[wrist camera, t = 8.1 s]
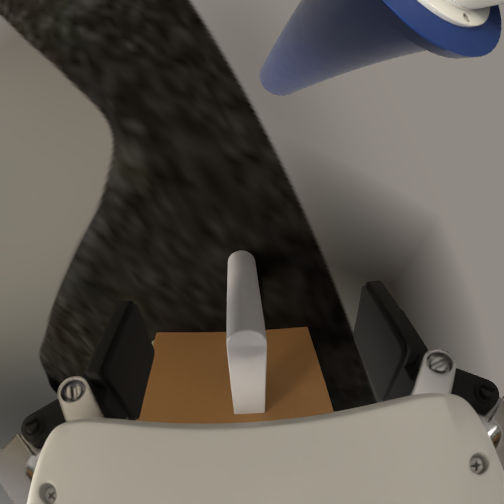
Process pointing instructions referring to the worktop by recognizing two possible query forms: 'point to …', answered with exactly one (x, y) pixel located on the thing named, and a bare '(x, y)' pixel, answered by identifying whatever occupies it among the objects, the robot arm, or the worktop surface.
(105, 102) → the worktop surface
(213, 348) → the door
